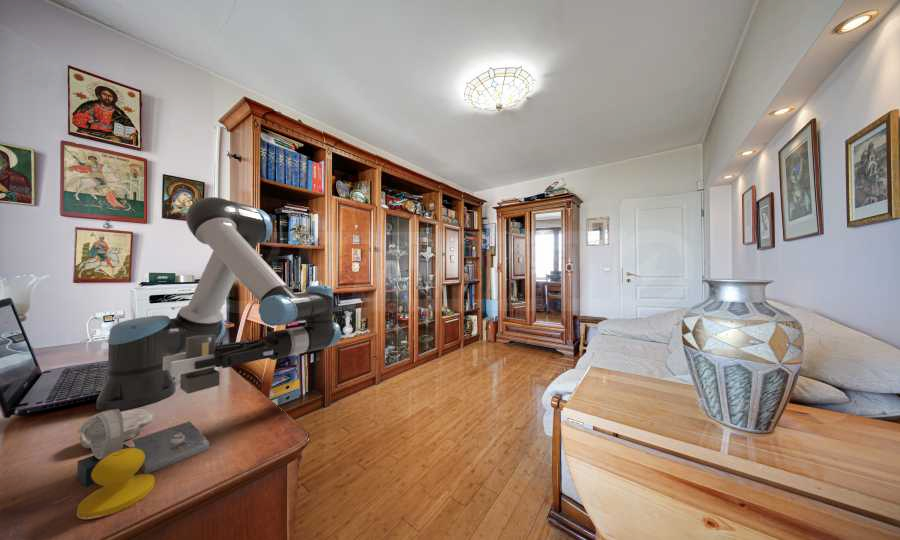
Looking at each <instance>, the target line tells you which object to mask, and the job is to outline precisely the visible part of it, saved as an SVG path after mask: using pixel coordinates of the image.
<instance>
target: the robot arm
mask: <svg viewBox="0 0 900 540" xmlns="http://www.w3.org/2000/svg"><path fill="white" fill-rule="evenodd" d="M185 218H186V219H185V220H186V225H187V227H188V229H189V232H190V233H192V235H193V236H194V238H196V240H197V241H199V243H201V244H203V245H208V246H209V248H210V249H211V250H212V252H211V255H210V257H209V259H208V261H207V264H206V265H205V268H204V270H203V272H202V274H201V276H200V279H199V281H198V283H197V286H196V288H195V290H194V292H193V294H192V296H191V299H190V300H189V303H188V305H185V306H182V307H181V308H180V309H179V310H178V313H177V314H176V317H173V318H170V316H168V315H152V316H144V317H137V318H131V319H128V320H124V321H120V322H118V323H116V324H114V325H113V326H112V327H111V328H110V330H109V334H108V340H107V343H108V353H107V355H108V356H107V358H108V360H107V362H108V363H107V377H106V381H105V383H104V384H103V386H102V388H101V391H100V393H99V395H98V397H97V399H96V410H97V411H100V412H104V411H108V410H116V409H119V410H120V411H121V410H122V411H123V410H130V409H133V408H138V407H142V406H146V405H150V404H153V403H157V402H159V401H161V399H162V400H164V399H167V398H168V397H170V396H172V395H173V394H175V392H176V386H177V385H176V382H175V379H174V377H176V376H181V374H185V373H190V372H194V371H199V370H203V369H208V368H212V367H214V366H215V368H222V369H227V368H230V367H235V366H239V365H243V364H246V363H251V362H256V361H260V360H265V359H270V360H273V361H276V360H279V359H284V358H287V357H291V356H294V357H298V356H299V355H300V354H304V353H308V352H312V351H313V352H314V351H317V350H322V349H323V350H325V349H327V348H330V347H333V346H336V345H337V344H338V343H340V340H341V338H342V331H341V327H340V325H339V324H338V323H337V322H334V320H333V319H334V299H335V298H334V289H333V287H332V286H331V285H309V286H307V287H306V291H305V292H303V293H296V292H294V291H293V290H292V289H291V288H290V287H289V286H288V284H286V282H284V281H283V279H282V277H280V276H279V275H278V274H277V272H275V271H274V269H273V268H272V267H271V266H270V265H269V264H268V263H267V262H266V261H265V260H264V259H263V258H262V256H261V255H260V254H259V253H258V252H257V251H256V248H257V247H258V244H262V243H265V242H267V241H269V239H270V238H271V235H272V234H273V222H272V221H271V220H272V219H271V218H270V216H269V215H268V213H267V212H265V211H264V210H262V209H260V208H257V207H255V206H252V205H248V204H243V203H239V202H235V201H232V200H228V199H225V198H221V197H216V196H215V197H214V196H213V197H212V196H211V197H210V196H209V197H204V198H201V199H198V200H197V201H194V202H193V203H192V204H191V205H190V206H189V208H188V210H187V213H186V217H185ZM236 278H237V279H238V280H239V281H240V282H241V283H242V284H243V286H245V288H246V289H247V290H248V291H249V292H250V293H251V295H252V296H254V298H255V299H256V300H257V301H258V302H259V306H258V314H259V316H260V317H259V318H260V320H261V321H262V323H264V324H265V325H268V326H271V327H274V326H276V327H278V326H286V325H289V324H291V323H292V324H293V323H297V322H299V321H300V322H301V321H305V326H297V327H291V328H290V327H289V328H286V329H278V330H272V331H270V332H268V333H267V334H266V337H265V339H263V340H261V338H260V339H259V338H258V339H253V340H252V339H245V340H242V341H241V340H240V341H237V342H231V343H225V344H224V343H223V344H217V343H219V342H220V341H221V340H222V338H223V337H224V335H225V332H226V328H227V327H226V326H225V325H226V320H225V319H224V313H222V312H221V310H222V309H223V306H224V304H225V302H226V301H227V300H226V299H228V298H227V297H228V295H229V293H230V291H231V290H232V287H233V284H234V282H235V280H237V279H236ZM209 334H212V335H216V340H215V358H214V354H211V355H206V356H200V357H195V358H190V359H186V338H188V337H192V336H197V335H209ZM171 394H172V395H171ZM158 400H159V401H158Z"/></svg>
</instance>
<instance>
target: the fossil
mask: <svg viewBox="0 0 900 540" xmlns="http://www.w3.org/2000/svg"><path fill="white" fill-rule="evenodd" d="M121 413H122V417H123V424H124V435H125V438H124V442H125V441H128V440H130V439H131V440H132V439H133V438H135V437H136V436H137V435H138V433H139V431H140V430H141V429H143V428H144V427H147V426H149V424H151V422H152V421H153V418H154V415H155V413H154V412H152V411H151V412H150V411H147V410H145V409H143V408H140V409H139V408H138V409H137V408H135V409H133V408H132V409H131V410H130V409H128V410H124V411H121ZM79 441H80V444H81V446H82V447H83V448H85V449H92V448H91V445H90V441H87V440H86V438H85V436H84V435H83V433H82V432H81V433H80V436H79ZM104 441H105V440H104ZM101 442H102V441H101Z"/></svg>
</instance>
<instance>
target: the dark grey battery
mask: <svg viewBox="0 0 900 540" xmlns="http://www.w3.org/2000/svg"><path fill="white" fill-rule="evenodd" d="M215 340H216V335H212V334H209V335H197V336H192V337H188V338H186V352H185V353H186V359H190V358H195V357H200V356H206V355H211V354H214V358H215V346H216V344H215ZM220 375H221V373H220V371H218V369H216V367H215V366H214V367H212V368H208V369H203V370H199V371H194V372H190V373H185V374H181V375H180V382H179V384H180V385H179V389H180V390H182V391H183V392H185V393H186V394H187V395H188V394H192V393H196V392H199V391H204V390H207V389H211V388H214V387H215V388H216V387H218V386H220Z"/></svg>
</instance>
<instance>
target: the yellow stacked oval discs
mask: <svg viewBox="0 0 900 540" xmlns="http://www.w3.org/2000/svg"><path fill="white" fill-rule="evenodd" d="M144 460H145V454H144V452H143V451H142V450H140V449H137V448H132V447H130V448H127V449H122V450H119V451H116V452H114V453H112V454H110V455H108V456H106V457H105V458H103V459H102V460H101V461H100V462H99V463H98V464H97V465H96V466H95V467H94V469H93V471H92V473H91V477H92V479H93V481H94V482H95V484H98V485H99V486H102V487H100V488H98V489H97V490H95V491H93V492H92V493H90V494H89V495H88V496H86V497H84V499H82V501H80V502H79V504H78V506H77V509H76V515H77V514H78V516H80V517H86V518H88V517H93V516H99V515H100V516H101V515H106V514H111V515H113V514H112V513H114V514H116V513H118V511H119V512H120V510H121V511H123V510H125V509H127V508H129V507H131V506H133V505H135V504H136V503H138V502H140V501H141V500H142V499H143V498H144V499H145V497H146V496H147V495H148V494H149V493H151V492H152V491H153V489H154V487H155V483H156V480H155V479H156V478H155V476H154V475H152V474H151V473H149V474H145V473H142V474H141V473H140V474H136V473H137V472H138V471H139V470H140V468H142V467H141V466H142V464H143V462H144ZM128 506H129V507H128ZM124 508H125V509H124ZM122 509H123V510H122ZM115 512H116V513H115Z"/></svg>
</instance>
